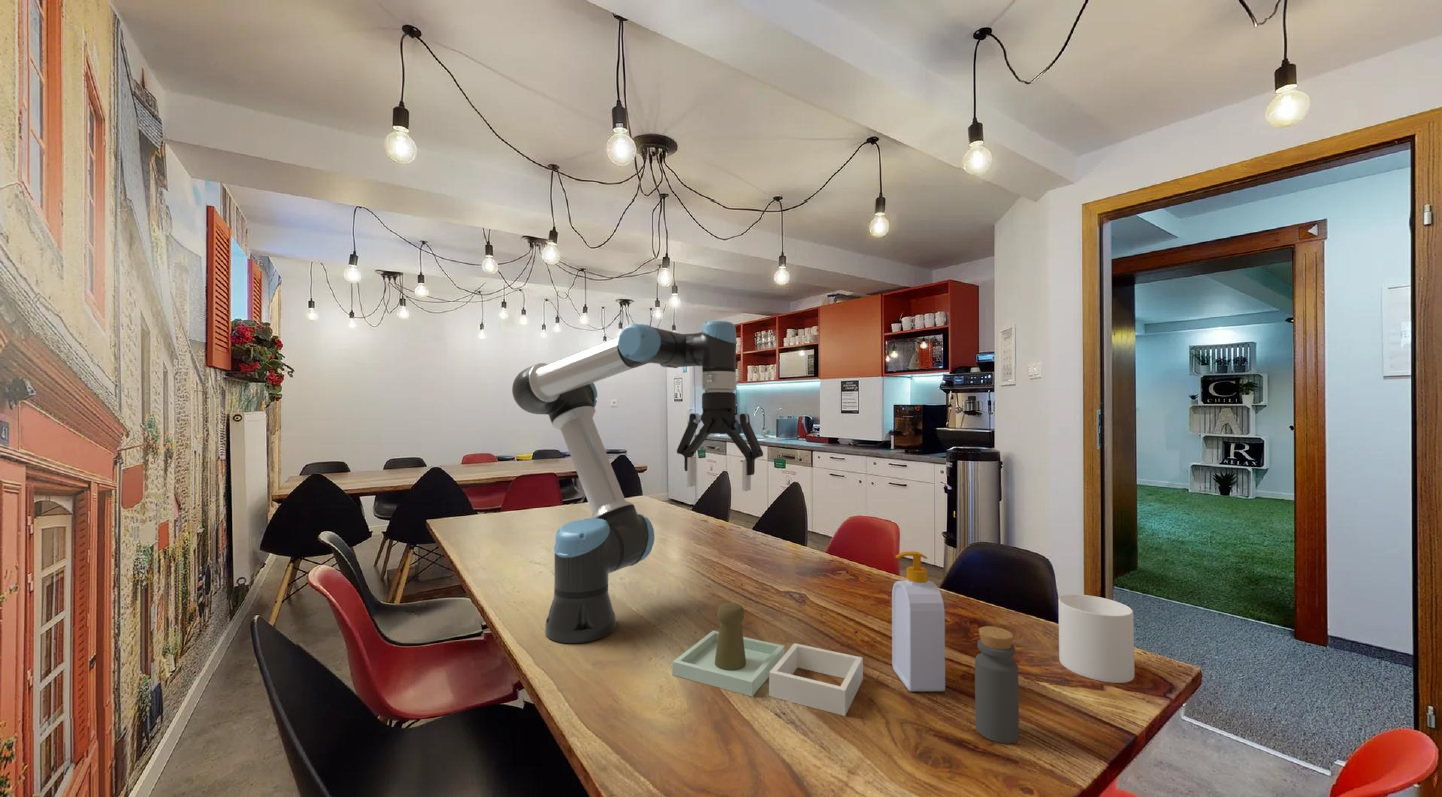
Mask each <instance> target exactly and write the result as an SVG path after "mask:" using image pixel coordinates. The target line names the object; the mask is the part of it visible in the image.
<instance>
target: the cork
mask: <svg viewBox="0 0 1442 797" xmlns="http://www.w3.org/2000/svg"><path fill="white" fill-rule="evenodd" d="M716 611H717V613H716V616H717V620H718V622H719V626H718V627H719V629H718V632H719V634H718V642H717V649H716V657H715V665H716V666H717V667H718V668H720V669H722V670H727V671H734V670H739V669H742V668H744V667H745V665H746V658H745V650H744V641H743V637H744V635H743V628H742V627H743V626H742V623H743V621H744V619H745V610H744V608H743V606H742V605H741V604H739V603H736V602H725V603H722V604H721V605H719V607H718V608H717V610H716Z"/></svg>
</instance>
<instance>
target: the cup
mask: <svg viewBox="0 0 1442 797" xmlns="http://www.w3.org/2000/svg"><path fill="white" fill-rule="evenodd" d="M1134 626H1135V624H1134V611H1133V610H1132V608H1130V607H1129V606H1127V605H1125V604H1123V603H1121V602H1119V601H1116V600H1113V599H1109V598H1104V597H1100V596H1095V595H1087V594H1074V593H1072V594H1064V595H1062V596H1060V597H1059V598H1058V653H1059V654H1058V656H1059V663H1060V664H1061V665H1062V666H1063V667H1064V668H1066V669H1067V670H1068V671H1070V672H1073V673H1074V674H1076V675H1079V676H1081V677H1083V678H1087V679H1091V680H1094V681H1099V682H1102V683H1103V682H1104V683H1108V684H1109V683H1111V684H1124V683H1129V682H1132V681H1133V680H1134V679H1135V633H1134V630H1135V628H1134Z"/></svg>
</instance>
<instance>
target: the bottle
mask: <svg viewBox="0 0 1442 797" xmlns="http://www.w3.org/2000/svg"><path fill="white" fill-rule="evenodd" d="M978 633H979V634H978V635H979V639H978V640H977V649H978V650H979V651H980V652H981V653H979V654H976V656H975V657H974V691H975V692H974V696H975V697H974V700H975V704H974V706H975V711H974V712H975V728H976V731H977V732H978V733H979V734H980V735H981V736H982V737H984V738H986V739H987V740H990V741H993V742H995V743H999V744H1007V745H1009V744H1014V743H1016V742H1018V740H1019V737H1020V725H1019V724H1020V718H1019V716H1020V714H1019V713H1020V711H1019V707H1020V704H1019V699H1020V698H1019V666H1018V664H1017V663H1016V661H1015V660H1014V659H1012V657H1014V656H1015V655H1016V647H1015V645H1013V641H1014V633H1013V632H1011V631H1009V630H1007V629H1005V628H1002V627H998V626H987V625H986V626H981V627H979V628H978Z"/></svg>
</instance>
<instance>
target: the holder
mask: <svg viewBox="0 0 1442 797" xmlns="http://www.w3.org/2000/svg"><path fill="white" fill-rule="evenodd" d="M863 664H864V658H863V656H856V655H852V654H848V653H842V652H839V651H832V650H829V649H823V648H820V647H815V646H809V645H805V644H799V643H793V644H792V645H791V646H790V647H789V649H788V650H787V651H786V652H785V655H784V656H783V657H782V658H781V659H780V660H779V661H778V663H777V664H776V665H775V666H774V667H773V668H772V670H771V671H770V672H769V677H768V679H769V680H768V697H771V698H774V699H778V700H782V701H786V702H791V703H794V704H798V705H802V706H805V707H809V708H812V709H816V710H821V711H825V712H828V713H832V714H835V715H840V716H843V717H846V716H847V713H848V711H849V709H850V707H851V706H852V703H853V701H854V699H855V697H856V694H857V693H858V690H859V688H860V686H861V685H862V682H863V680H864V678H863V677H864V674H863V672H864V665H863ZM798 668H799V669H802V670H806V671H811V672H815V673H820V674H823V675H827V676H832V677H837V678H841V679H843V681H842V683H841V685H840V686H839V685H836V684H832V683H828V682H823V681H820V680H817V679H812V678H808V677H802V676H799V675H794V673H795V672H796V670H797V669H798Z"/></svg>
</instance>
